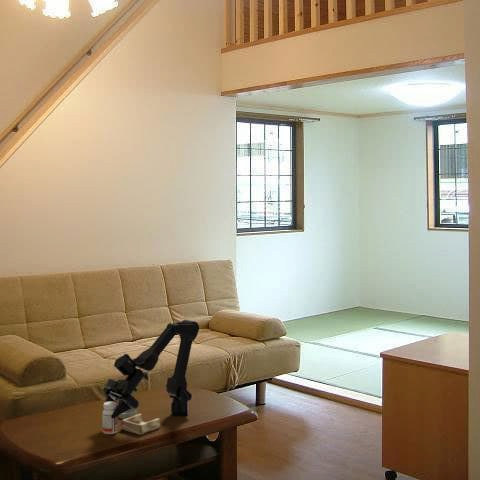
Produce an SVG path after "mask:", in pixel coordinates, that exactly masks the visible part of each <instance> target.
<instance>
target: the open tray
mask: <svg viewBox="0 0 480 480" xmlns="http://www.w3.org/2000/svg"><path fill="white" fill-rule="evenodd" d="M160 419H161V418H160V417H159V418H154V419H152V420H149V421H146V422H145V421H143V414H142V413H137V415H135V416H132V417H129V418H126V419H121V421H120V430H122V431H126V432H129V433H133V434H136V435H141V436H142V435H144V434H147V433H149V432H152V431H154V430H157V429H159V428H161V427H160V426H161V424H160V423H161V420H160Z"/></svg>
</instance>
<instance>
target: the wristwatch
mask: <svg viewBox="0 0 480 480" xmlns="http://www.w3.org/2000/svg"><path fill="white" fill-rule="evenodd" d="M131 408H132V406H131ZM135 415H138V408H137V409H134V408H132V409H129V410H127V411H125V412H124V413H122V414H120V415H119V419H121V420H124V419H126V418H129V417H132V416H135Z"/></svg>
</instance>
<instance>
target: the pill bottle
mask: <svg viewBox="0 0 480 480" xmlns="http://www.w3.org/2000/svg"><path fill="white" fill-rule="evenodd" d="M117 406H118V402H117V401H116V402H114V401H109V402H106V401H105V402H104V403H103V408H104V410H103V409H102V411H103V412H101V414H102V415H101V416H102V421H101V422H102V433H103V434H105V435H113V434H118V432H119V431H120V427H119V420H120V418H119V415H118V416H117V417H115V418H111V416H112V414H113V412H114V410H115V409H116V407H117Z"/></svg>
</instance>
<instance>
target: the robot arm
mask: <svg viewBox="0 0 480 480" xmlns="http://www.w3.org/2000/svg"><path fill="white" fill-rule="evenodd" d="M199 332H200V325H199V323H198V322H197V321H195V320H189V319H183V320H182V321H177V322H176V321H175V322H170V323H168V324H166V327H165V329H164V330H163V331H162V332H161V333H160V335H159V336H158V337H157V338H156V340H155V341H154V342H153V343H152V345H150V347H149V348H148V349H144V351H142V352H141V353H140V354H139V355H138V356H137V357H136V358H133V359H132V357H131V356H130V355H129V354H127V353H124V354H123V355H121V356H120V357H118V358H116V360H115V361H114V363H113V366H114V368H115V369H116V370H117V371H118V372H119V373H121V374H122V376H124V377H125V376H126V377H125V378H124V379H118V380H116V379H115V380H114V379H112V378H108V379H107V382H106V386H104V388H103V389H102V390H101V391H102V393H104V396H105V402H109V401H114V402H117V401H118V402H117V407H116V409H115V410H114V412H113V414H112V416H111V418H115V417H117V416H118V415H120V414H122V413H124V412H125V411H127V410H129V409H132V408H134V409H137V410H138V408H139V406H140V402H139V400H138V399H137V398H135V396H134V395H132V394H133V393H134V392H137V391H138V389H137V388H138V386H139V385H140V384H141V382H142V381H143V380H145V381H148V380H149V376H148V372H149V371H153V370H154V369H155V367H156V366H157V363H158V362H159V357H160V355H161V353H163V351H164V350H165V348H166V347H167V346H168V345H169V344H170V342H171V341H172V340H173V338H174V337H175V336H177V334H178V335H179V339H180V341H179V347H178V352H177V356H176V362H175V367H174V371H173V374H172V376H171V377H167V379H166V381H167V382H166V385H165V388H166V393H167V394H168V395H169V396H168V397H169V398H170V399H172V401H171V404H170V405H171V406H170V410H171V411H170V413H171V415H172V416H188V415H189V411H190V409H189V401H191V400H192V396H193V395H192V393H191V392H190V391H189V390H188V383H187V377H186V374H187V370H188V365H189V360H190V355H191V349H192V344H193V342H194V341H195V339H196V338H197V336H198V333H199ZM143 370H144V371H143ZM145 371H148V372H145ZM131 406H132V408H131ZM103 410H104V407H103V409H102V412H103ZM102 412H101V413H102Z"/></svg>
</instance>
